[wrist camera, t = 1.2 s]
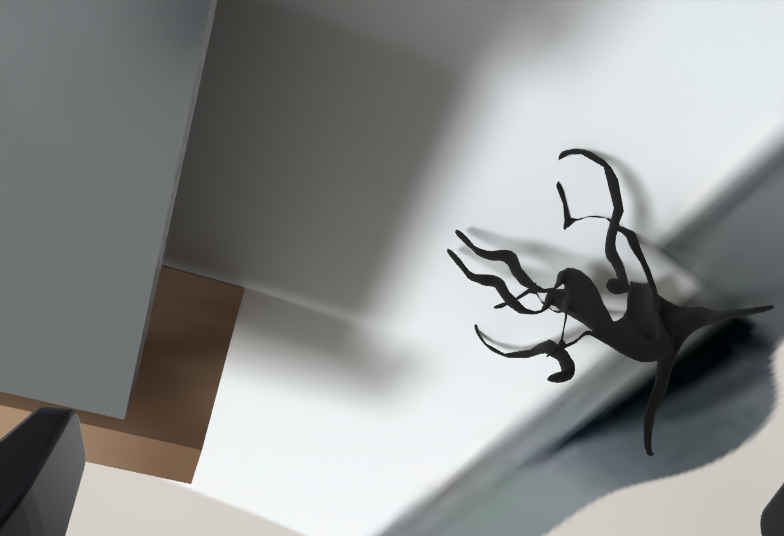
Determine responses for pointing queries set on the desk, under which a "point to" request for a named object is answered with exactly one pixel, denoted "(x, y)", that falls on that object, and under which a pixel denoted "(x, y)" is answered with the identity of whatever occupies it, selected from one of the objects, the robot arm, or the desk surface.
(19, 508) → the robot arm
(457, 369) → the desk surface
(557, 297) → the creature
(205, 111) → the desk surface
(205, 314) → the wooden stand
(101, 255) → the trapdoor
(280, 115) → the desk surface
